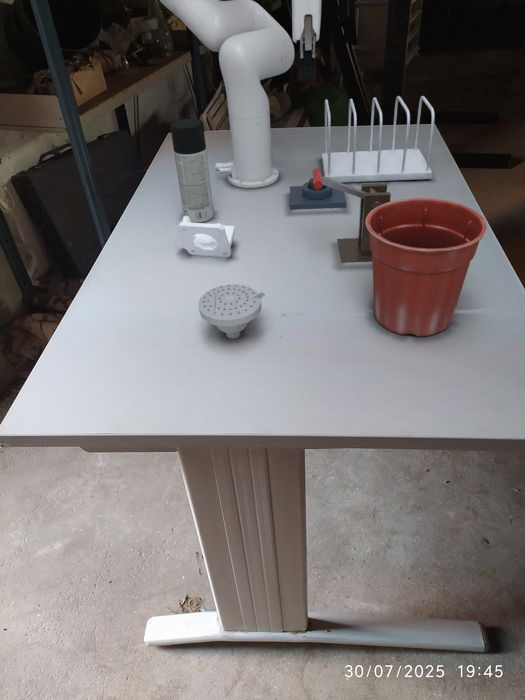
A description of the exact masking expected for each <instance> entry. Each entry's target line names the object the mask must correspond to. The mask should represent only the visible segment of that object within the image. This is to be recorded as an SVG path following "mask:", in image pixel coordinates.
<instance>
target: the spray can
mask: <svg viewBox="0 0 525 700" xmlns="http://www.w3.org/2000/svg"><path fill="white" fill-rule="evenodd" d="M169 127H170V134H171V139H172V148H173V155H174V160H175V167H176V173H177V174H176V175H177V180H178V187H179V193H180V199H181V206H182V213H183V216H188V217H189V218H190V220H191V223H207V222H208V221H211V220H212V219H213V218H214V215H215V210H214V209H215V208H214V201H213V193H212V184H211V175H210V168H209V159H208V150H207V143H206V134H205V127H204V122H203V120H202V119H199V118H181V119H179V120H176V121H174V122H173V123H171V124H170V126H169Z"/></svg>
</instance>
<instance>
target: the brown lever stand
mask: <svg viewBox="0 0 525 700" xmlns="http://www.w3.org/2000/svg"><path fill="white" fill-rule="evenodd" d="M360 187H361V188H360V190H363V191H365V192H368V191H369V189H370V188H372V189H375V190H378V191H381V193H364V199H363V198H360V205H359V220H358V221H359V222H358V235H357V237H350V238H349V237H348V238H337V239H336V241H337V242H336V243H337V249H338V254H339V259H340V260H339V261H340V263H341V264H345V263H373V262H372V251H371V249H370V235H369V231H368V230H367V227H366V217H367V216H368V214H369V213H370V212H371V211H372V210H373V209H375V208H376V207H378V206H380V205H382V204H385V203H388V202H391V197H392V194H391V192H390V191H388V184H387V183H385V182H383V183H380V182H379V183H361V186H360Z"/></svg>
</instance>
